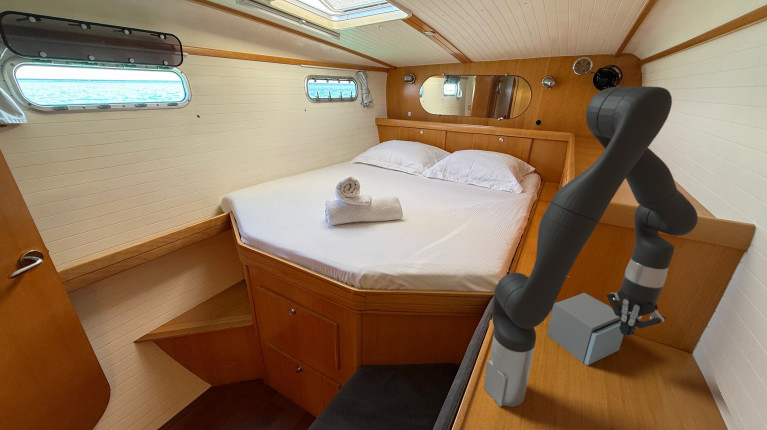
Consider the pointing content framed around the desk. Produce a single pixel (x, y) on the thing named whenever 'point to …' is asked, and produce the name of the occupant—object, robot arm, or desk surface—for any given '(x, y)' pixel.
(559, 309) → the cabinet
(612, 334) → the drawer
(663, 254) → the robot arm
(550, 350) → the desk surface
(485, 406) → the desk surface
